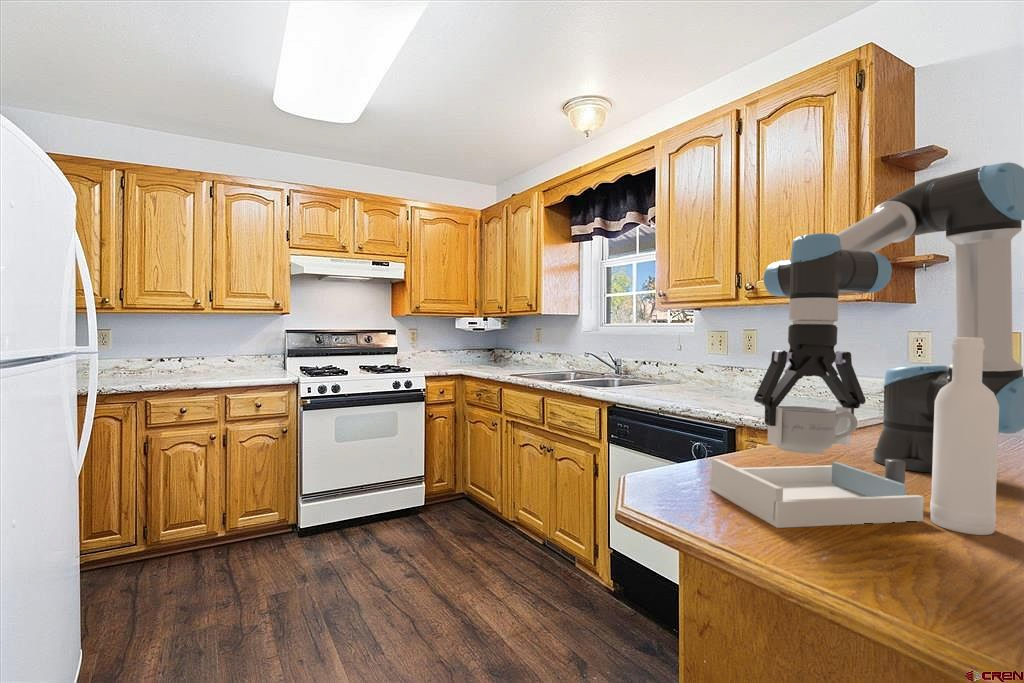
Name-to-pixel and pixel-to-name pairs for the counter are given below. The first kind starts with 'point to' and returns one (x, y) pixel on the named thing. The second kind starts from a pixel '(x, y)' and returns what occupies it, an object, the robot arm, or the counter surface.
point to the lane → (807, 497)
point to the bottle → (965, 446)
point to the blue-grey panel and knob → (872, 479)
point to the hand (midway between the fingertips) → (808, 444)
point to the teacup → (812, 428)
